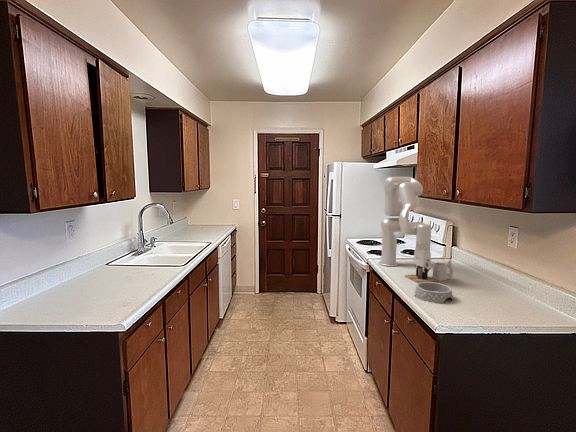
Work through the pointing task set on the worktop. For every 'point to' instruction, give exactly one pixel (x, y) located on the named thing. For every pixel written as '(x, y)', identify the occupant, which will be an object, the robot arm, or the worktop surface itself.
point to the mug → (442, 271)
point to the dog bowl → (432, 296)
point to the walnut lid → (421, 277)
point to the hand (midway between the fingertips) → (421, 277)
